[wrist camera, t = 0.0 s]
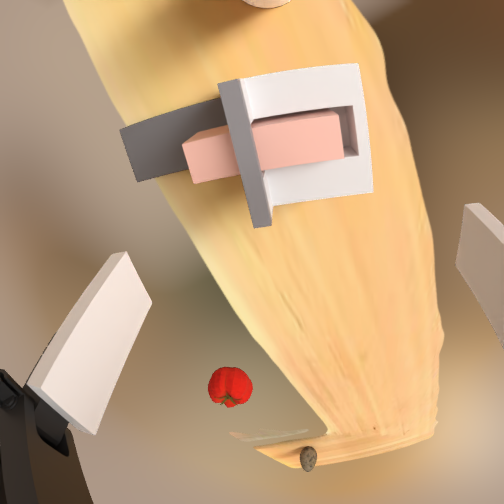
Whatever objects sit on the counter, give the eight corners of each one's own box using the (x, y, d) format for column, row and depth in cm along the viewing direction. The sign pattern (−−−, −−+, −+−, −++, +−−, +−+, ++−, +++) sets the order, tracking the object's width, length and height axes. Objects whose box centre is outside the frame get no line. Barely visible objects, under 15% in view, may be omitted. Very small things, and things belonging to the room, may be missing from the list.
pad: (121, 128, 35) (119, 129, 35) (234, 94, 32) (233, 94, 32) (139, 180, 39) (137, 182, 39) (249, 154, 36) (248, 156, 36)
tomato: (208, 377, 65) (202, 404, 58) (217, 357, 60) (210, 387, 53) (247, 387, 66) (243, 414, 59) (259, 368, 61) (256, 398, 54)
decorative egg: (302, 450, 90) (302, 474, 82) (297, 446, 87) (297, 470, 79) (318, 448, 88) (318, 472, 80) (314, 443, 85) (314, 468, 77)
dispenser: (239, 81, 31) (217, 83, 20) (339, 65, 29) (371, 61, 18) (262, 178, 38) (253, 228, 27) (354, 165, 36) (385, 210, 25)
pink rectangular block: (198, 131, 30) (181, 144, 25) (328, 107, 28) (338, 114, 23) (208, 165, 32) (193, 183, 27) (333, 143, 30) (344, 158, 25)
